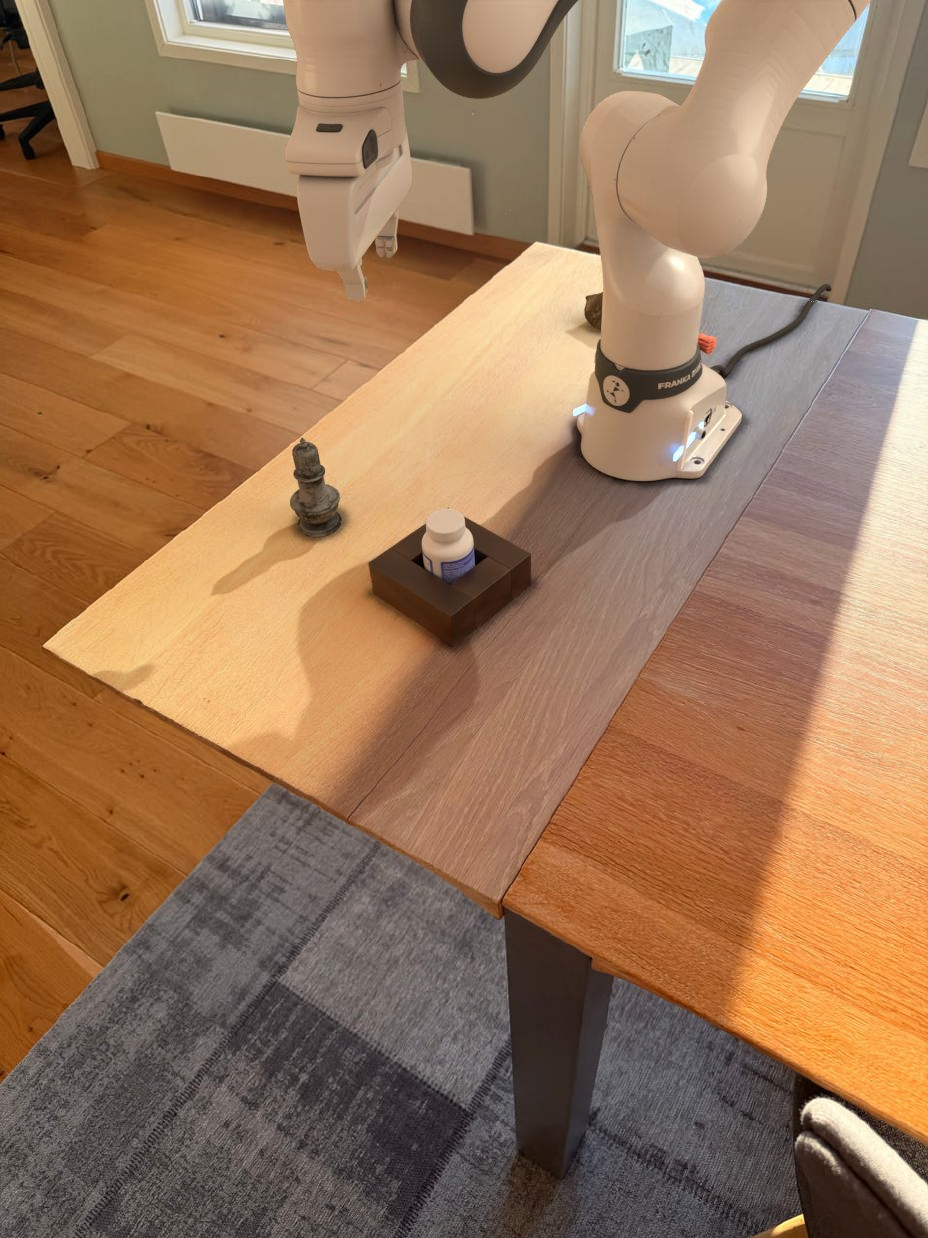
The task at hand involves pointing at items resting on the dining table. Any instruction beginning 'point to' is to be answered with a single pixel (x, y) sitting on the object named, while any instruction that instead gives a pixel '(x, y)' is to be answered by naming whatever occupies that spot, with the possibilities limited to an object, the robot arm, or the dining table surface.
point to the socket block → (463, 601)
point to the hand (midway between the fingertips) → (373, 275)
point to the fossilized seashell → (594, 309)
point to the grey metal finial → (313, 494)
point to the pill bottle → (447, 545)
